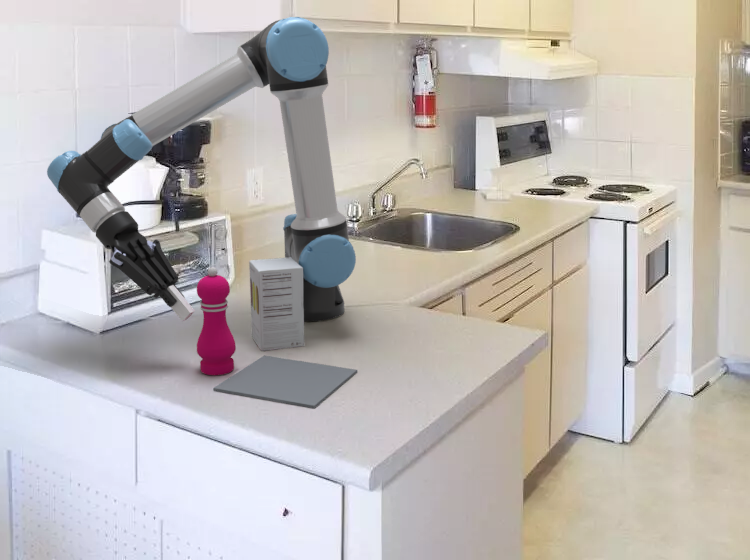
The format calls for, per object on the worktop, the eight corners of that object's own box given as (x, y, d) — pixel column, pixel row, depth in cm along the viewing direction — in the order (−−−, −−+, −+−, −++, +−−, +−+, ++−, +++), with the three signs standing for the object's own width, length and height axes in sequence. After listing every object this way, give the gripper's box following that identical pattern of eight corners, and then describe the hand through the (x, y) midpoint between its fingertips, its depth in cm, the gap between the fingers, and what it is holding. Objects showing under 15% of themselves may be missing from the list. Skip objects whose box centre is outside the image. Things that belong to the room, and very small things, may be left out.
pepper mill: (242, 364, 163) (238, 264, 157) (226, 378, 156) (221, 273, 151) (208, 361, 164) (203, 261, 159) (191, 374, 158) (184, 270, 152)
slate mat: (213, 390, 150) (213, 387, 150) (264, 357, 166) (264, 355, 166) (314, 408, 143) (314, 405, 143) (357, 372, 159) (357, 369, 159)
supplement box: (250, 337, 178) (247, 259, 174) (293, 332, 181) (291, 256, 177) (261, 352, 170) (258, 270, 165) (305, 346, 173) (303, 266, 168)
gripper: (122, 228, 169) (197, 318, 167) (76, 241, 157) (156, 338, 155) (142, 203, 165) (219, 295, 163) (97, 215, 154) (179, 314, 152)
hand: (188, 316), depth 159 cm, fingers closed
